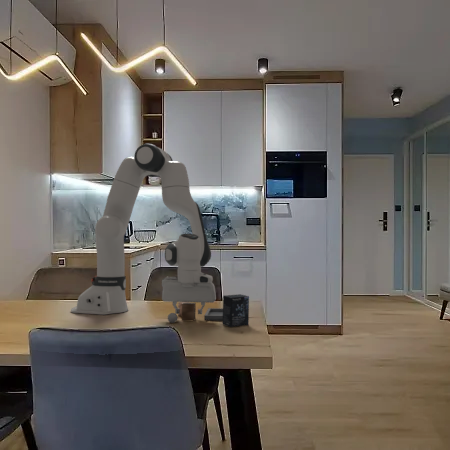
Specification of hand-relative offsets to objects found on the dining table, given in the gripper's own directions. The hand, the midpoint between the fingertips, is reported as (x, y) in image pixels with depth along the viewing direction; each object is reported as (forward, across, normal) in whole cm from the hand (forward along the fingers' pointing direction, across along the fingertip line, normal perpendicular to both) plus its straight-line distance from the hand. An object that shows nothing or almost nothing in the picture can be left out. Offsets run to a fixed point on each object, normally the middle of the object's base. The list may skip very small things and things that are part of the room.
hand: (188, 313), depth 195 cm
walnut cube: (+2, 0, 0) cm, 2 cm away
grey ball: (+2, -5, -7) cm, 9 cm away
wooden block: (+2, -3, +8) cm, 9 cm away
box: (+2, +18, -8) cm, 20 cm away
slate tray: (+2, +13, +7) cm, 15 cm away
